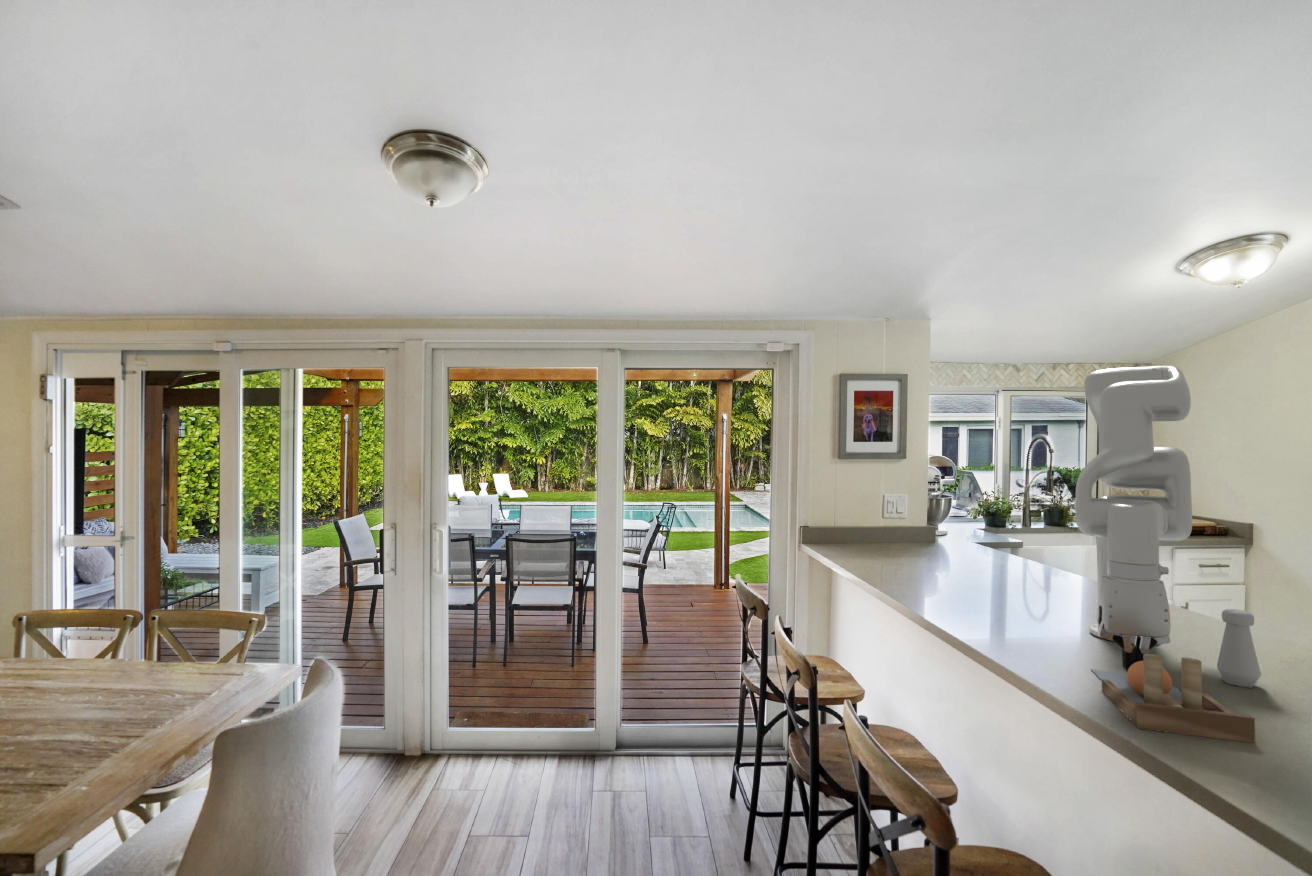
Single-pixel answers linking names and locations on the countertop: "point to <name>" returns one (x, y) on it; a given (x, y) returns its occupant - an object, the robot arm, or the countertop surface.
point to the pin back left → (1191, 683)
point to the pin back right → (1153, 679)
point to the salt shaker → (1238, 650)
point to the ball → (1137, 678)
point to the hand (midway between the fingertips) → (1133, 672)
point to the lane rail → (1185, 717)
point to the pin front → (1170, 701)
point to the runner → (1123, 685)
